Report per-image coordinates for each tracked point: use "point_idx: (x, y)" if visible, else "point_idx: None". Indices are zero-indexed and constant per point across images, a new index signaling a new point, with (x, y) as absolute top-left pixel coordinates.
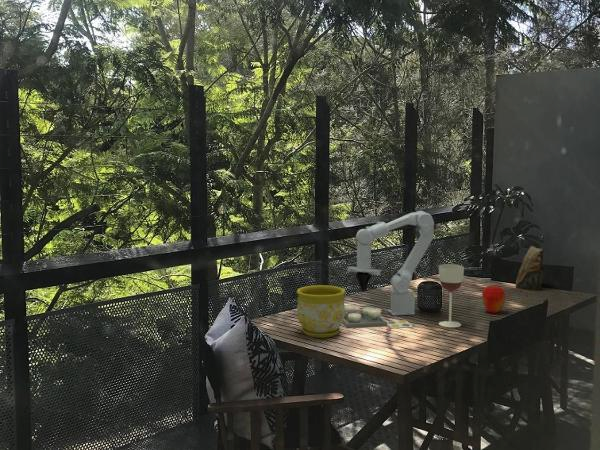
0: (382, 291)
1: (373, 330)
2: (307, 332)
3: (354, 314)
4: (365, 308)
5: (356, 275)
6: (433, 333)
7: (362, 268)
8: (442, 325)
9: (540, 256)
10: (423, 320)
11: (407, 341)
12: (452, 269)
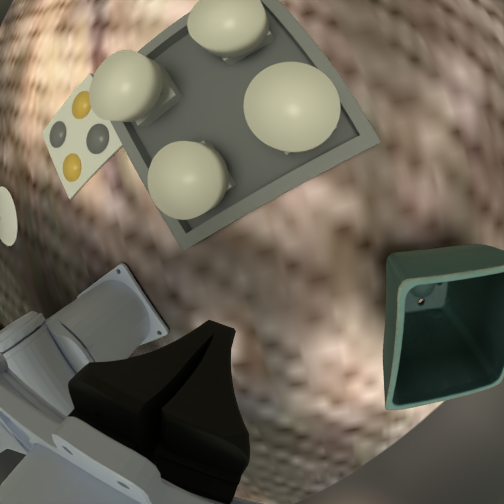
0: (270, 497)
1: (144, 16)
2: None
3: (226, 20)
4: (201, 180)
5: (228, 433)
6: (12, 107)
7: (52, 477)
8: (7, 193)
9: None
10: (43, 231)
11: (56, 4)
12: None
